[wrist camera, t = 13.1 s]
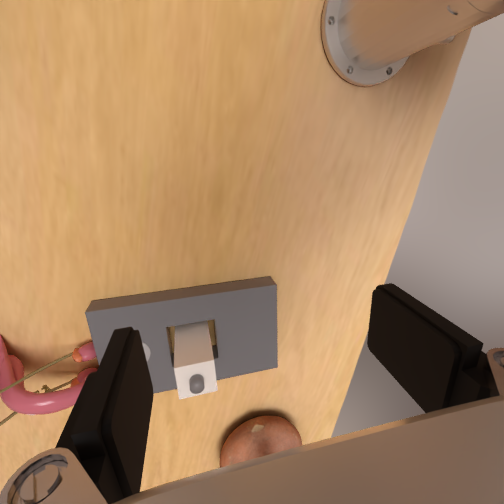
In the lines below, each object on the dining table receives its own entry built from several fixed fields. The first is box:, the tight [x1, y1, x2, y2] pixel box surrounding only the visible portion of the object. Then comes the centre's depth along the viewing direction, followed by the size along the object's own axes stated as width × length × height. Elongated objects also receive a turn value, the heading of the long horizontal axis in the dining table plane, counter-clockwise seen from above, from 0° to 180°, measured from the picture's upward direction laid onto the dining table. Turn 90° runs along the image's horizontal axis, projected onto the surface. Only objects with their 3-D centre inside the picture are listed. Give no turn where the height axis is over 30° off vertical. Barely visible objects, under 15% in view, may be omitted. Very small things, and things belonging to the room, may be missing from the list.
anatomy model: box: [0, 335, 98, 426], centre depth 32 cm, size 11×15×17 cm
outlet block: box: [85, 276, 278, 394], centre depth 40 cm, size 24×14×3 cm, turn 92°
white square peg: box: [174, 321, 218, 399], centre depth 36 cm, size 4×4×11 cm
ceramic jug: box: [220, 416, 302, 468], centre depth 44 cm, size 18×14×14 cm
